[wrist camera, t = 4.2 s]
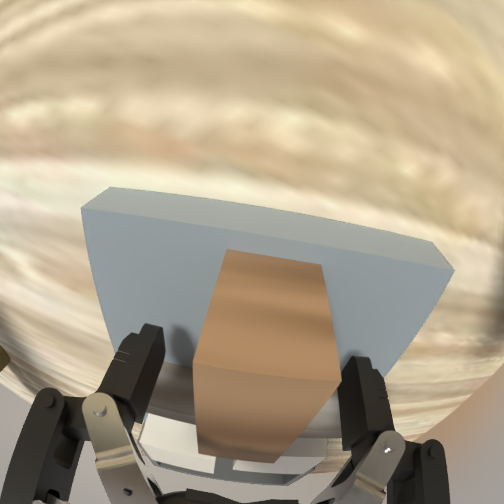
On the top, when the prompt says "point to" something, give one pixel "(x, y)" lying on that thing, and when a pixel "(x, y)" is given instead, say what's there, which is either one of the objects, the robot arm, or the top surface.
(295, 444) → the tile
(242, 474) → the tray
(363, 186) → the top surface
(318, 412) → the scraper
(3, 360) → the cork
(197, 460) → the tile
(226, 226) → the board
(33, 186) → the top surface
